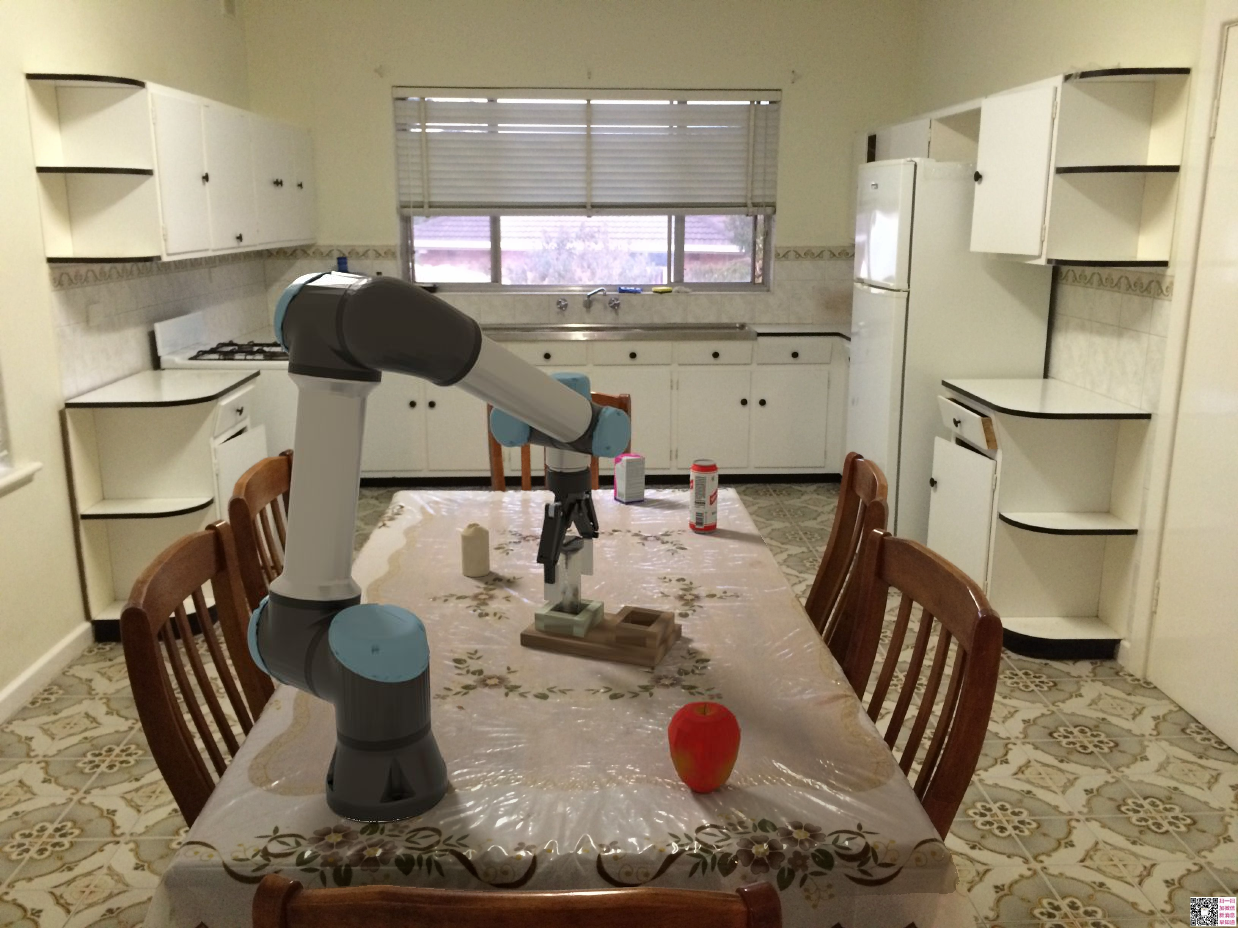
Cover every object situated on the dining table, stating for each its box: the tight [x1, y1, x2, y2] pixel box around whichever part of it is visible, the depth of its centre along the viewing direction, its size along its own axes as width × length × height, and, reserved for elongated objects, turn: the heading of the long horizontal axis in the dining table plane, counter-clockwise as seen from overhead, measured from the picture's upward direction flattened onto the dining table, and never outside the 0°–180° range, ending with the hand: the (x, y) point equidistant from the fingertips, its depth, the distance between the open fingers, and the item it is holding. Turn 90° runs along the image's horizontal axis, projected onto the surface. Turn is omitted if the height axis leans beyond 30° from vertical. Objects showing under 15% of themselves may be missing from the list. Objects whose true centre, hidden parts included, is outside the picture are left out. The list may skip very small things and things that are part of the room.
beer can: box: [688, 458, 719, 534], centre depth 239 cm, size 6×6×16 cm
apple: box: [666, 700, 742, 794], centre depth 135 cm, size 9×9×12 cm
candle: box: [460, 522, 491, 578], centre depth 212 cm, size 6×6×10 cm
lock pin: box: [558, 534, 584, 615], centre depth 181 cm, size 5×5×15 cm
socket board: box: [519, 598, 683, 668], centre depth 181 cm, size 14×24×5 cm, turn 68°
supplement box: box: [613, 452, 646, 505], centre depth 263 cm, size 6×6×12 cm
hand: (569, 586), depth 181 cm, fingers open, 13 cm apart
